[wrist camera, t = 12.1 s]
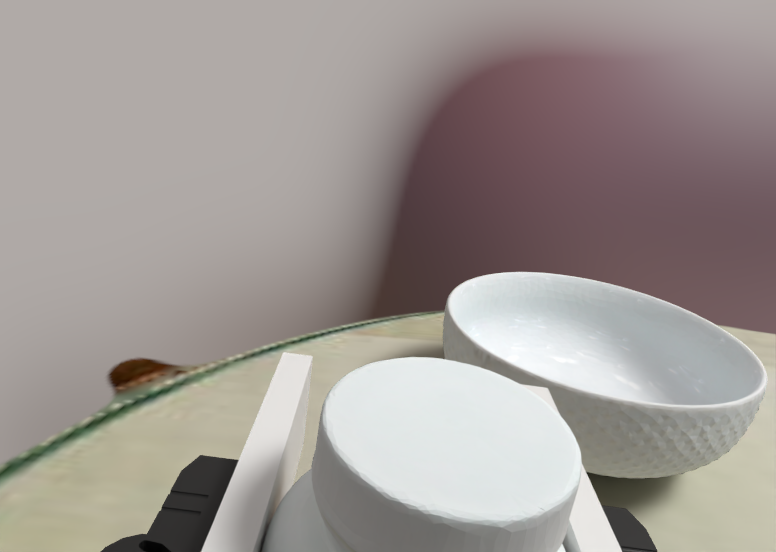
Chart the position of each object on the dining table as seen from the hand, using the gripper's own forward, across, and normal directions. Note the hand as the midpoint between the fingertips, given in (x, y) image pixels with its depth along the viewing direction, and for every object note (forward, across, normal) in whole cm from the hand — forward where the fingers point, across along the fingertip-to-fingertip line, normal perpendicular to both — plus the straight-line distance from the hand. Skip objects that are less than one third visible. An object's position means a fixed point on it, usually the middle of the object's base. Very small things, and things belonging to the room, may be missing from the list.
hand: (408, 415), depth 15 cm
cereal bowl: (+16, +12, -10) cm, 22 cm away
